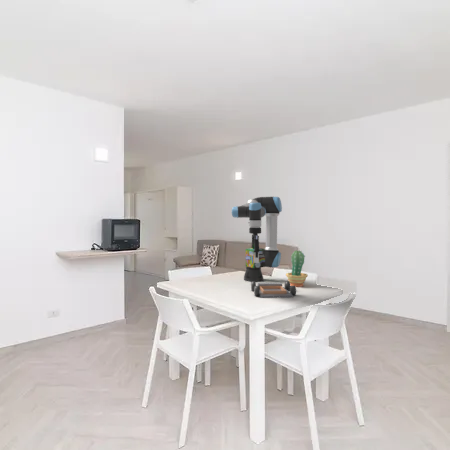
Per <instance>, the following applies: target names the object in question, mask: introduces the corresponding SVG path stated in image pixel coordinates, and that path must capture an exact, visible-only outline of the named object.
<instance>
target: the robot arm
mask: <svg viewBox="0 0 450 450" xmlns="http://www.w3.org/2000/svg"><path fill="white" fill-rule="evenodd" d="M282 210H283V207H282V200H281V198H280V197H279V196H258V197H254V198H252V199H249V200H248V201H247V203H244V204H241V205H240V206H238V205H235V206H232V208H231V215H232V217H233V218H237V219H238V218H240V219H241V218H242V219H243V218H247V219H248V218H249V220H248V226H249V229H248V231H249V232H248V233H249V234H251V247H250V248H253V244H254V249H255V251H254V263H259V248H260V236H259V235H260V234H261V233H262V218H263V217H266V218H265V247H264V249H265V267H264V268H278V267H280V264H281V259H282V253H281V252H280V250H279V248H278V216H279V215H280V213H281V212H282ZM258 234H259V235H258ZM243 281H245V282H262V281H264V275H263V272H262V267H261V268H251V267H246V266H245V271H244V275H243Z"/></svg>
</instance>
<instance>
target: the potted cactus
mask: <svg viewBox="0 0 450 450" xmlns="http://www.w3.org/2000/svg"><path fill="white" fill-rule="evenodd" d="M290 257H291V259H290V260H291V265H292V266H291V272H286V273H285V276H286V277H287V281H289V282H290V286H295V287H298V288H299V287H303V286H304V284H305V282H306V280H307V277H308V276H309V275H308V274H307V273H303V272H302V269H303V265H304V264H305V257H306V255H305V254H304V253H303V252H302V250H297V249H296V250H294V251H293V252H292V254H291V256H290Z"/></svg>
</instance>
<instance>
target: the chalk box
mask: <svg viewBox="0 0 450 450" xmlns="http://www.w3.org/2000/svg"><path fill="white" fill-rule="evenodd" d="M254 251H255V249H254V244H253V248H251V247H250V248H245V268H246V267H251V268H261V269H262V268H266V267H265V248H260V247H259V263H254Z"/></svg>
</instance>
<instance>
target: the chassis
mask: <svg viewBox="0 0 450 450" xmlns="http://www.w3.org/2000/svg"><path fill="white" fill-rule="evenodd" d="M256 282H257V281H250V289H251V292H253V293H254V294H253V295H254V297H259V298H260V299H266V298H267V299H269V298H271V299H272V298H273V299H274V298H275V299H276V298H277V297H281V298H294V296H296V295H297V288H296V287H295V286H291V285H290V284H291V283H290V282H289V280H286V281H284V285H283V283H282V282H257V283H256Z"/></svg>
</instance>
